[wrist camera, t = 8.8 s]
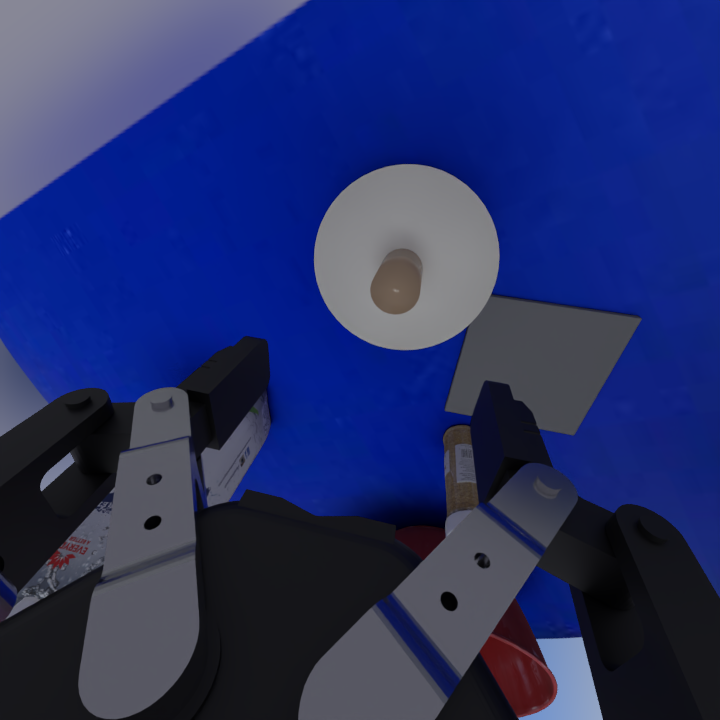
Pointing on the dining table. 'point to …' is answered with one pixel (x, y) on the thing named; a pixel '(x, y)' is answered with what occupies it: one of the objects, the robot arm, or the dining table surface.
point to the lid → (406, 257)
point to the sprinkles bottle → (459, 476)
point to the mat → (540, 357)
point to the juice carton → (92, 534)
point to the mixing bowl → (502, 642)
